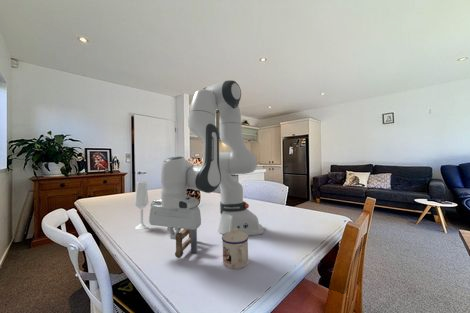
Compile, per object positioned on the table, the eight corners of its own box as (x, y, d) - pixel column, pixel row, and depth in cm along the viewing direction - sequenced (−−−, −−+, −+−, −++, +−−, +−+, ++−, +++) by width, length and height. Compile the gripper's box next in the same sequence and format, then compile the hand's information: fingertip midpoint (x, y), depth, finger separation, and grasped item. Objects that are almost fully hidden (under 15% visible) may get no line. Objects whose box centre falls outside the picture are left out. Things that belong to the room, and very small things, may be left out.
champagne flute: (149, 227, 104) (149, 182, 104) (135, 230, 100) (135, 183, 100) (147, 224, 109) (147, 181, 110) (134, 226, 106) (133, 182, 106)
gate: (189, 242, 82) (189, 222, 83) (195, 242, 82) (195, 222, 82) (174, 257, 70) (174, 234, 70) (181, 258, 69) (181, 234, 69)
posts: (199, 240, 86) (199, 217, 86) (196, 252, 75) (196, 226, 75) (192, 240, 86) (192, 217, 86) (188, 253, 74) (187, 226, 75)
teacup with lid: (218, 259, 70) (218, 226, 70) (241, 253, 73) (241, 222, 73) (231, 277, 58) (230, 238, 59) (258, 270, 62) (257, 233, 62)
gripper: (144, 201, 72) (145, 239, 72) (193, 204, 66) (194, 245, 65) (156, 197, 78) (157, 232, 78) (202, 200, 72) (203, 238, 71)
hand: (174, 238), depth 72 cm, fingers closed
